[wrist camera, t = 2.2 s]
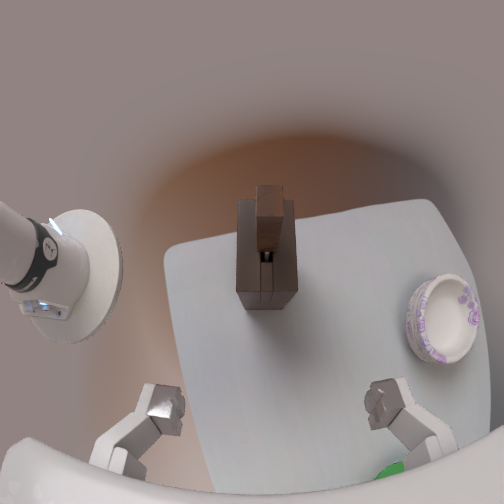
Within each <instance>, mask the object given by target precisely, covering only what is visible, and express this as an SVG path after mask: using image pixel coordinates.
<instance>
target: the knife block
mask: <svg viewBox="0 0 504 504" xmlns="http://www.w3.org/2000/svg"><path fill="white" fill-rule="evenodd" d="M284 215H285V216H284V221H283V226H282V231H281V236H280V241H279V246H278V251H277V252H269V259H268V262H263V252H257V246H256V200H238V220H237V268H236V292H237V294H238V296H239V298H240V300H241V302H242V304H243V306H244V308H245V310H282V309H283V308H284V307H285V306H286V305H287V303H288V302H289V301H290V300H291V299H292V297H293V296H294V295H295V294H296V293H297V291H298V279H297V256H296V236H295V219H294V205H293V200H284Z"/></svg>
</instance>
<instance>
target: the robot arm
mask: <svg viewBox="0 0 504 504" xmlns="http://www.w3.org/2000/svg"><path fill="white" fill-rule="evenodd" d="M49 220H50V222H51V223H52V224H53V226H54V227H55V228H53V227H51V226H49V225H47V224H44V223H42V224H40V223H38V222H37V221H34V220H32V219H30V218H25V217H23V216H22V215H20V214H19V213H17V212H16V211H14V210H13V209H12V208H10V207H9V206H7V205H6V204H4V203H3V202H2V201H0V282H1V284H2V283H4V284H5V285H6V286H8V287H9V293H10V296H11V298H12V300H13V301H15V302H18V303H19V307H20V309H21V312H22V314H24V315H28V316H34V317H40V318H48V319H56V320H64V321H66V320H68V319H69V318H70V316H71V313H72V310H73V307H74V305H75V304H76V303H77V302H78V300H79V299H80V298H81V296H82V295H83V293H84V291H85V289H86V286H87V283H88V279H89V272H90V263H89V257H88V253H87V251H86V249H85V247H84V246H83V245H82V244H81V243H80V242H79V241H77V240H75V239H73V238H72V237H71V235H70V234H69V232H68V231H67V230H65V229H61V230H59V229H58V227H57V226H56V224H55V223H54V222H53V220H52V219H49ZM60 312H61V315H60ZM364 404H365V409H366V411H367V412H368V413H370V415H369V417H368V420H369V424H370V428H371V430H376V429H381V428H386V427H388V429H389V430H390V431H391V432H392V433H393V434H394V435H395V436H396V437H397V438H398V439H399V440H400V441H401V442H402V443H403V444H404V445H405V446H406V447H407V448H408V449H409V450H410V451H411V452H410V453H409V454H408V455H406V456H405V457H404V458H403V460H402V461H403V465H404V469H405V471H404V472H401V473H398V474H395V475H391V476H388V477H384V478H381V479H377V480H373V481H369V482H365V483H360V484H356V485H351V486H346V487H340V488H334V489H328V490H321V491H313V492H303V493H291V494H270V495H246V494H225V493H213V492H203V491H195V490H188V489H181V488H176V487H170V486H165V485H160V484H155V483H151V482H147V481H145V477H146V472H147V469H146V467H145V466H144V465H143V464H142V463H140V462H139V461H138V459H139V458H140V457H141V456H142V455H143V454H144V453H145V452H146V451H147V450H148V449H149V448H150V447H151V446H152V445H153V444H154V443H155V442H156V441H157V439H159V438H160V436H161V435H162V434H166V435H173V436H180V434H181V429H182V422H181V420H180V419H181V418H182V417H183V416H184V413H185V399H184V397H183V396H182V395H181V389H180V387H175V386H167V385H159V384H153V383H145V384H144V386H143V388H142V391H141V394H140V397H139V400H138V403H137V406H136V409H135V413H133V412H131V413H130V414H129V415H127V416H126V417H125V418H124V419H122V420H121V421H120V422H118V423H117V424H116V425H115V426H114V427H112V428H111V429H110V430H108V431H107V432H106V433H104V434H103V435H102V436H100V437H99V438H98V439H97V440H96V443H95V446H94V449H93V452H92V455H91V457H90V461H89V463H86V462H84V461H81V460H79V459H76V458H74V457H72V456H70V455H67V454H65V453H63V452H60V451H59V450H56V449H54V448H52V447H50V446H48V445H46V444H44V443H42V442H40V441H39V440H37V439H35V438H32V437H27V438H25V439H23V440H21V441H19V442H17V443H16V444H14V445H12V446H11V447H10V448H9V449H8V451H7V453H6V456H5V458H4V461H3V464H2V468H1V471H0V504H504V424H503V425H502V426H500V427H498V428H497V429H495V430H494V431H492V432H490V433H488V434H487V435H485V436H483V437H482V438H480V439H478V440H476V441H474V442H472V443H470V444H469V445H467V446H465V447H463V448H461V449H459V448H458V445H457V442H456V440H455V437H454V434H453V432H452V429H451V427H449V426H448V425H447V424H445V423H444V422H442V421H441V420H440V419H438V418H437V417H436V416H434V415H433V414H432V413H430V412H429V411H428V410H426V409H425V408H424V407H422V406H421V405H420V404H416V403H415V401H414V398H413V396H412V394H411V391H410V389H409V386H408V384H407V382H406V379H405V378H404V377H396V378H390V379H385V380H380V381H375V382H372V383H371V385H370V390H369V391H367V393H366V395H365V399H364Z"/></svg>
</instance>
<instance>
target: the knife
mask: <svg viewBox="0 0 504 504" xmlns="http://www.w3.org/2000/svg"><path fill="white" fill-rule="evenodd" d="M283 198H284V197H283V186H282V185H256V246H257V252H263V262H268V259H269V252H277V251H278V246H279V241H280V236H281V231H282V226H283V221H284V216H285V215H284V199H283Z"/></svg>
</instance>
